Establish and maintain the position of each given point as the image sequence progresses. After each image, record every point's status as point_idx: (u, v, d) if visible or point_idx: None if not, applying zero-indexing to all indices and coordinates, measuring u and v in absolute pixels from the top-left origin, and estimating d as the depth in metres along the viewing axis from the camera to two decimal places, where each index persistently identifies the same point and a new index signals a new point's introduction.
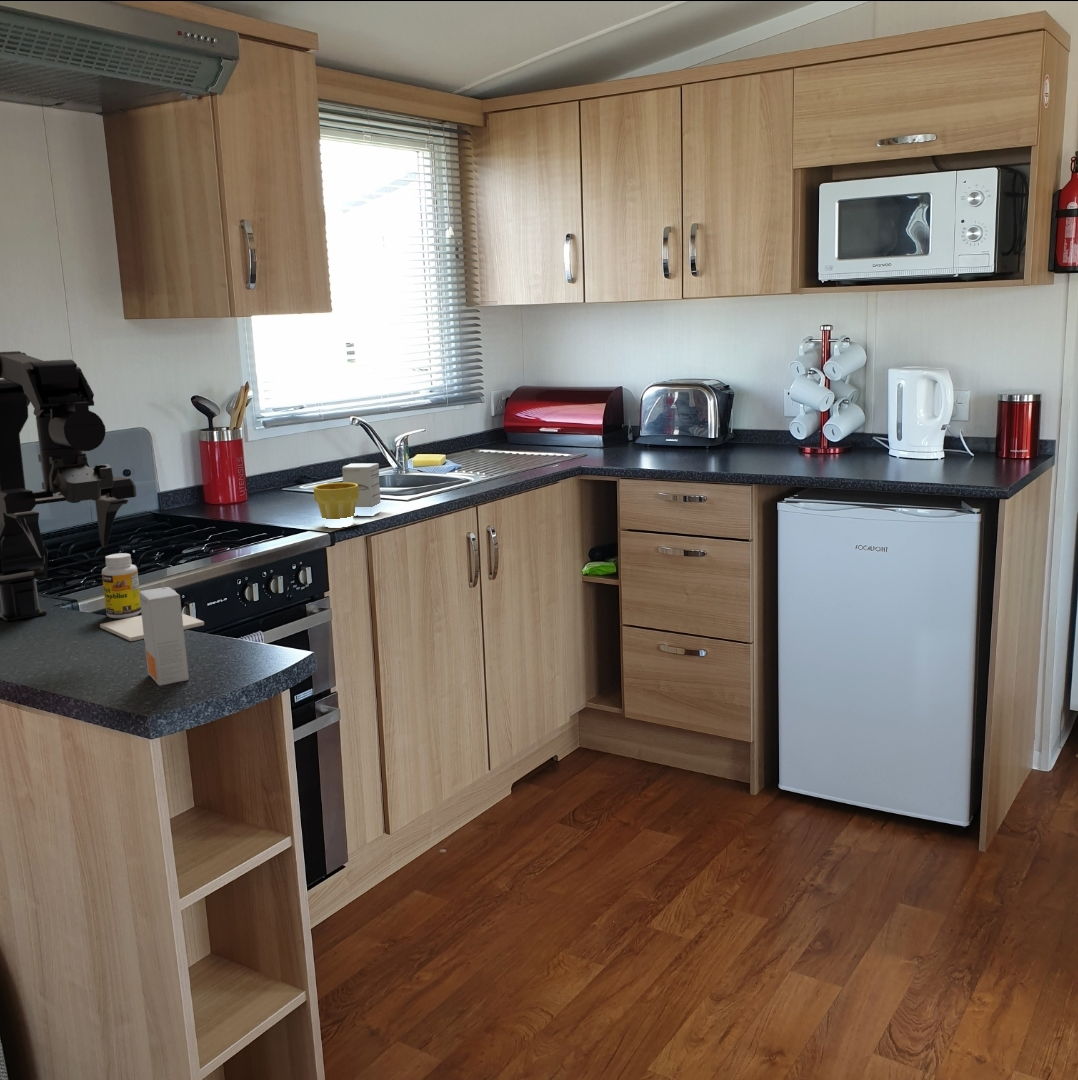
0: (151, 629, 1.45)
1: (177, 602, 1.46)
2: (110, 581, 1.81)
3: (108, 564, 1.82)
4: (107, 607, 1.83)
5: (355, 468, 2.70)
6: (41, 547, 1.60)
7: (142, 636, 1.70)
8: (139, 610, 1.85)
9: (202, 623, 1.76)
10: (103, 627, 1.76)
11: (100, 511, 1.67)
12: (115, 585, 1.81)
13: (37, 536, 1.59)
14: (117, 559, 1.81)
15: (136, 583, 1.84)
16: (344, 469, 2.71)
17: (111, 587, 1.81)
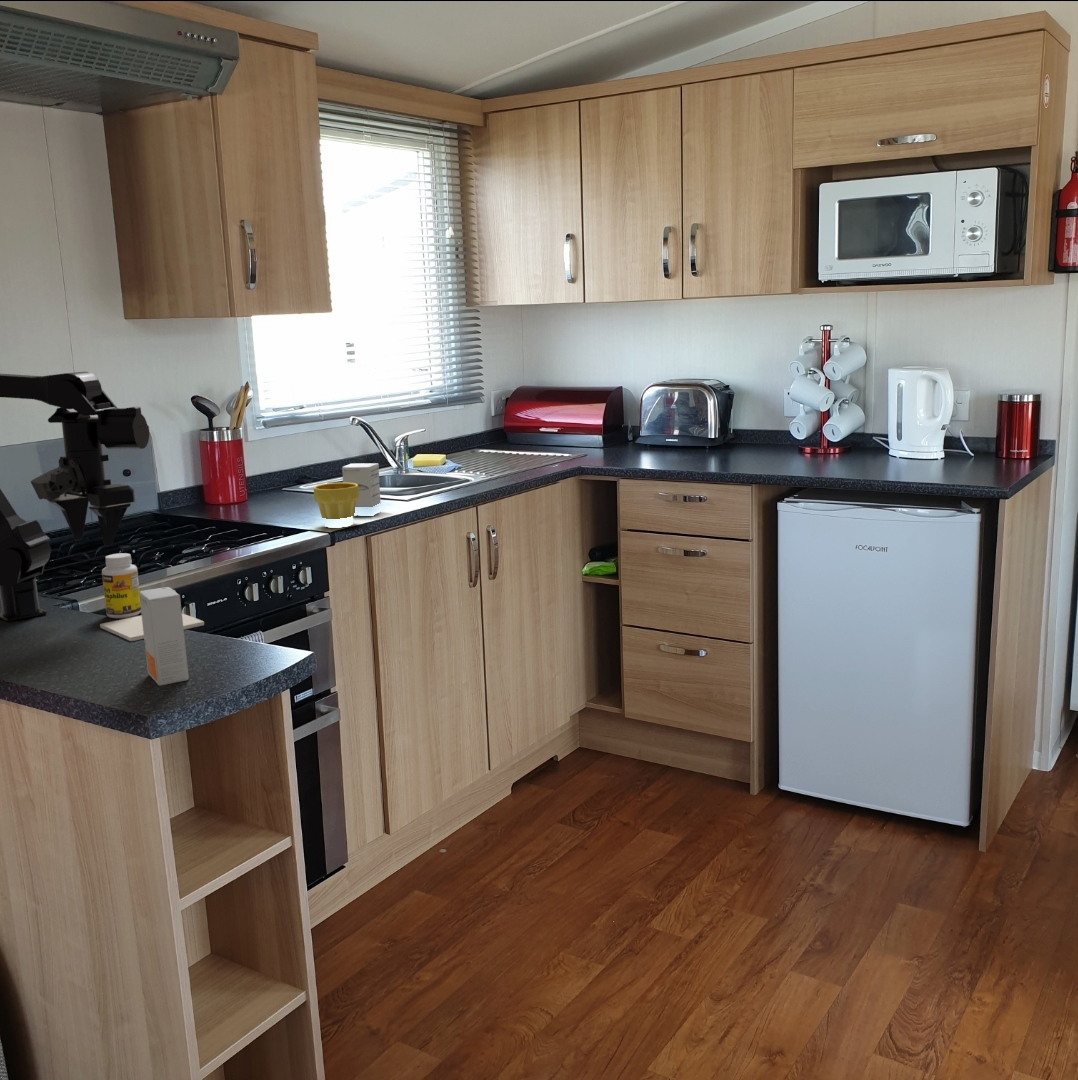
0: (151, 629, 1.45)
1: (177, 602, 1.46)
2: (110, 581, 1.81)
3: (108, 564, 1.82)
4: (107, 607, 1.83)
5: (355, 468, 2.70)
6: (72, 531, 1.86)
7: (142, 636, 1.70)
8: (139, 610, 1.85)
9: (202, 623, 1.76)
10: (103, 627, 1.76)
11: None
12: (115, 585, 1.81)
13: (68, 521, 1.85)
14: (117, 559, 1.81)
15: (136, 583, 1.84)
16: (344, 469, 2.71)
17: (111, 587, 1.81)
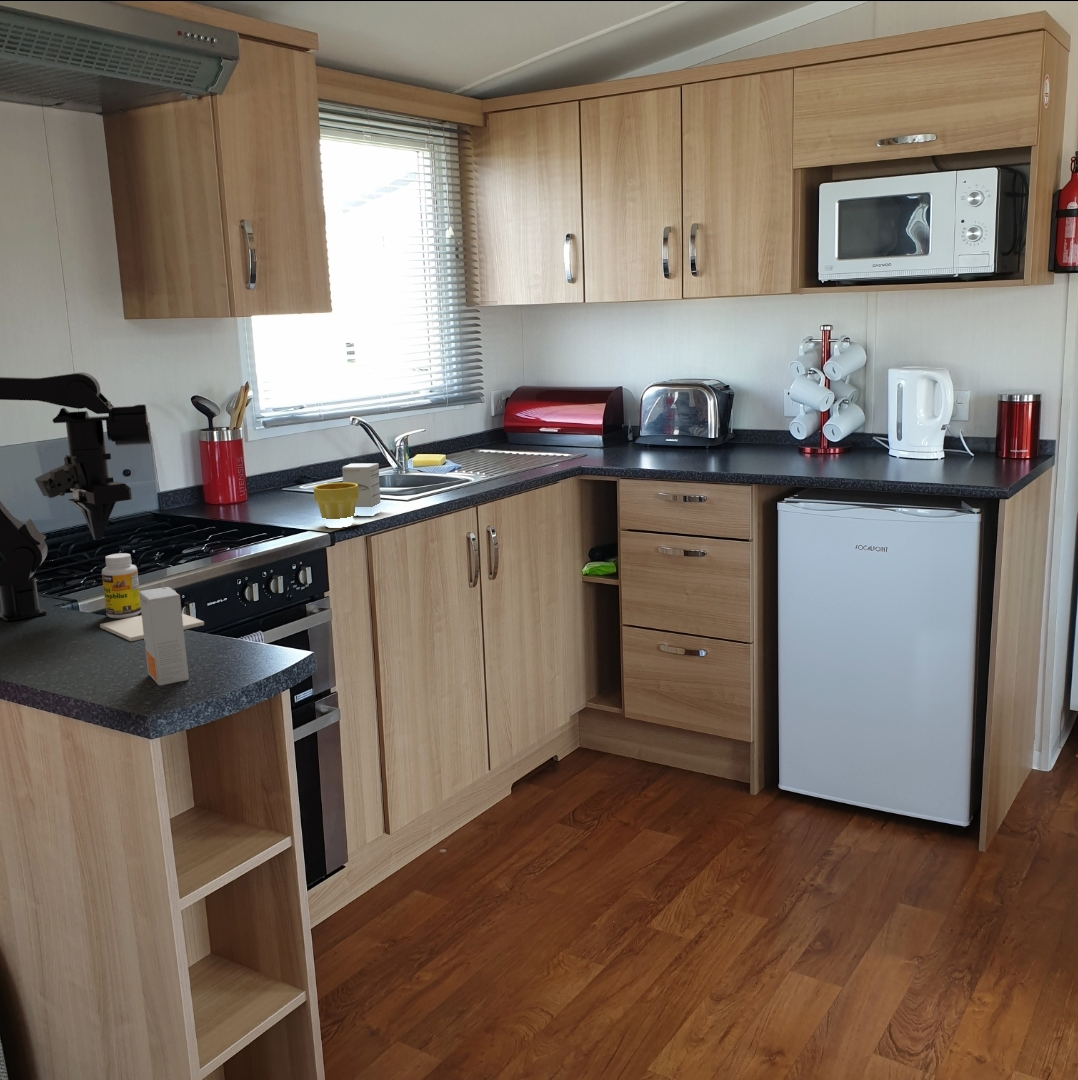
0: (151, 629, 1.45)
1: (177, 602, 1.46)
2: (110, 581, 1.81)
3: (108, 564, 1.82)
4: (107, 607, 1.83)
5: (355, 468, 2.70)
6: (91, 530, 1.88)
7: (142, 636, 1.70)
8: (139, 610, 1.85)
9: (202, 623, 1.76)
10: (103, 627, 1.76)
11: None
12: (115, 585, 1.81)
13: (87, 520, 1.88)
14: (117, 559, 1.81)
15: (136, 583, 1.84)
16: (344, 469, 2.71)
17: (111, 587, 1.81)
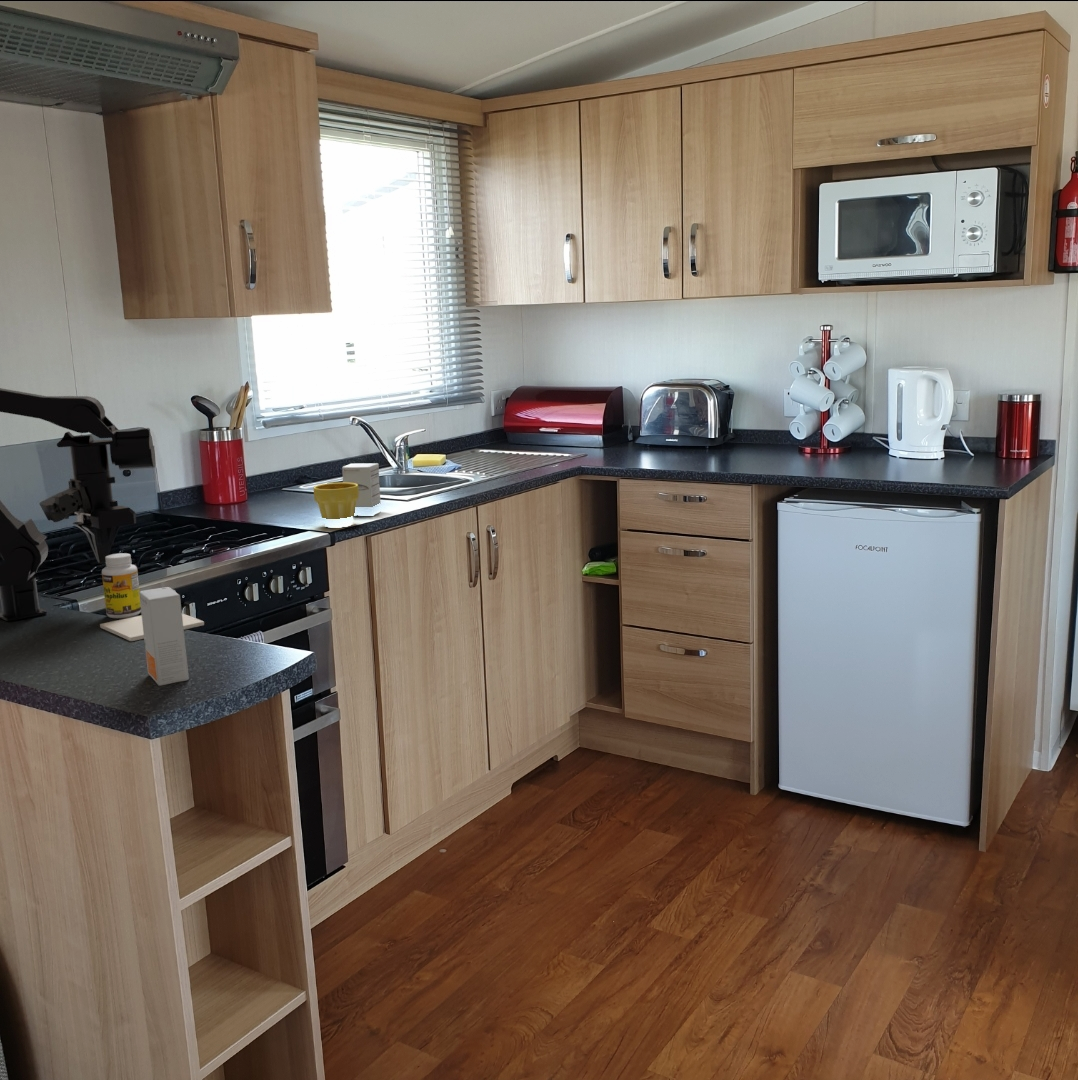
0: (151, 629, 1.45)
1: (177, 602, 1.46)
2: (110, 581, 1.81)
3: (108, 564, 1.82)
4: (107, 607, 1.83)
5: (355, 468, 2.70)
6: (95, 554, 1.88)
7: (142, 636, 1.70)
8: (139, 610, 1.85)
9: (202, 623, 1.76)
10: (103, 627, 1.76)
11: None
12: (115, 585, 1.81)
13: (91, 544, 1.88)
14: (117, 559, 1.81)
15: (136, 583, 1.84)
16: (344, 469, 2.71)
17: (111, 587, 1.81)
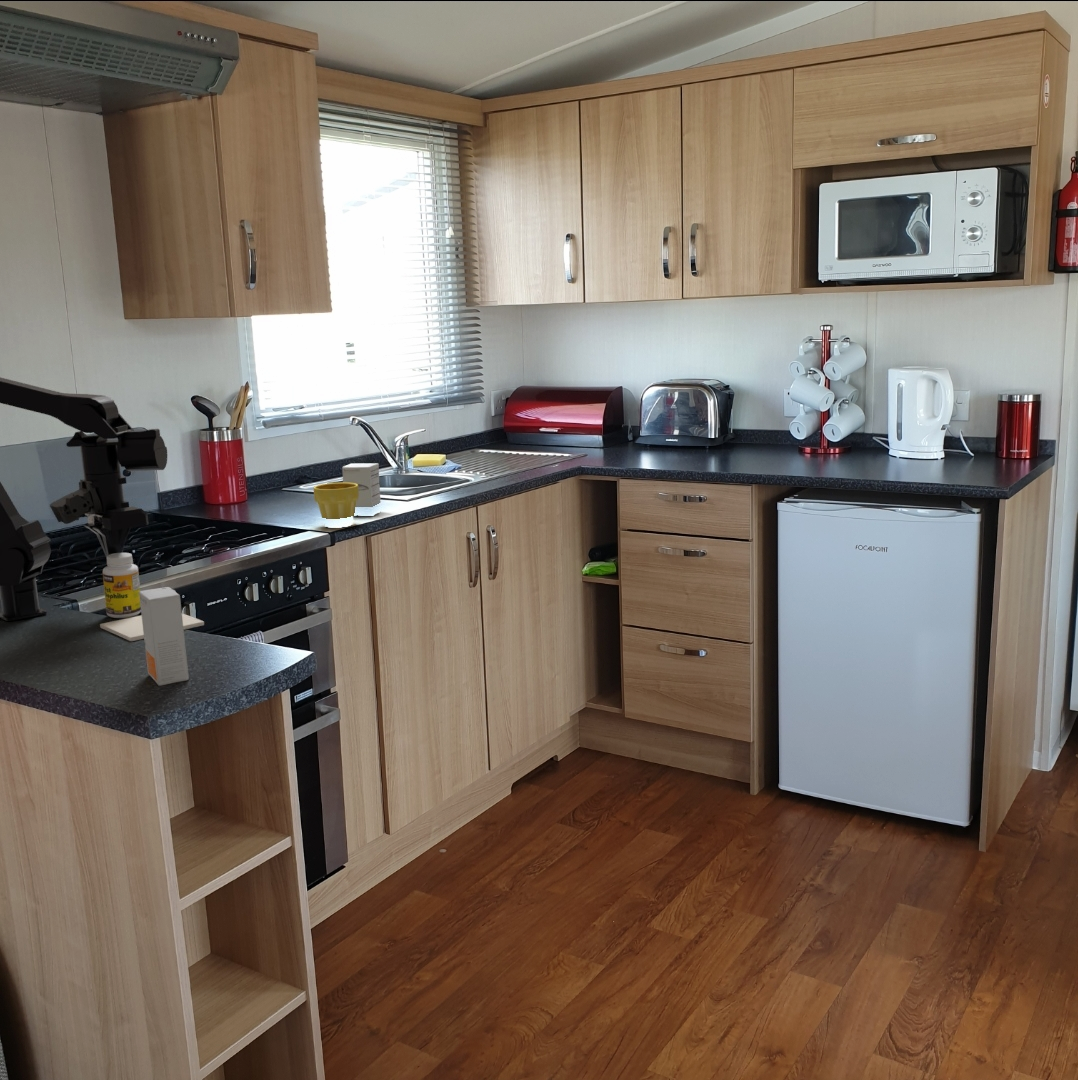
0: (151, 629, 1.45)
1: (177, 602, 1.46)
2: (111, 581, 1.81)
3: (109, 564, 1.81)
4: (107, 606, 1.83)
5: (355, 468, 2.70)
6: (106, 556, 1.85)
7: (142, 636, 1.70)
8: (139, 610, 1.85)
9: (202, 623, 1.76)
10: (103, 627, 1.76)
11: None
12: (115, 586, 1.81)
13: (102, 546, 1.85)
14: (118, 560, 1.81)
15: (137, 583, 1.83)
16: (344, 469, 2.71)
17: (111, 587, 1.81)
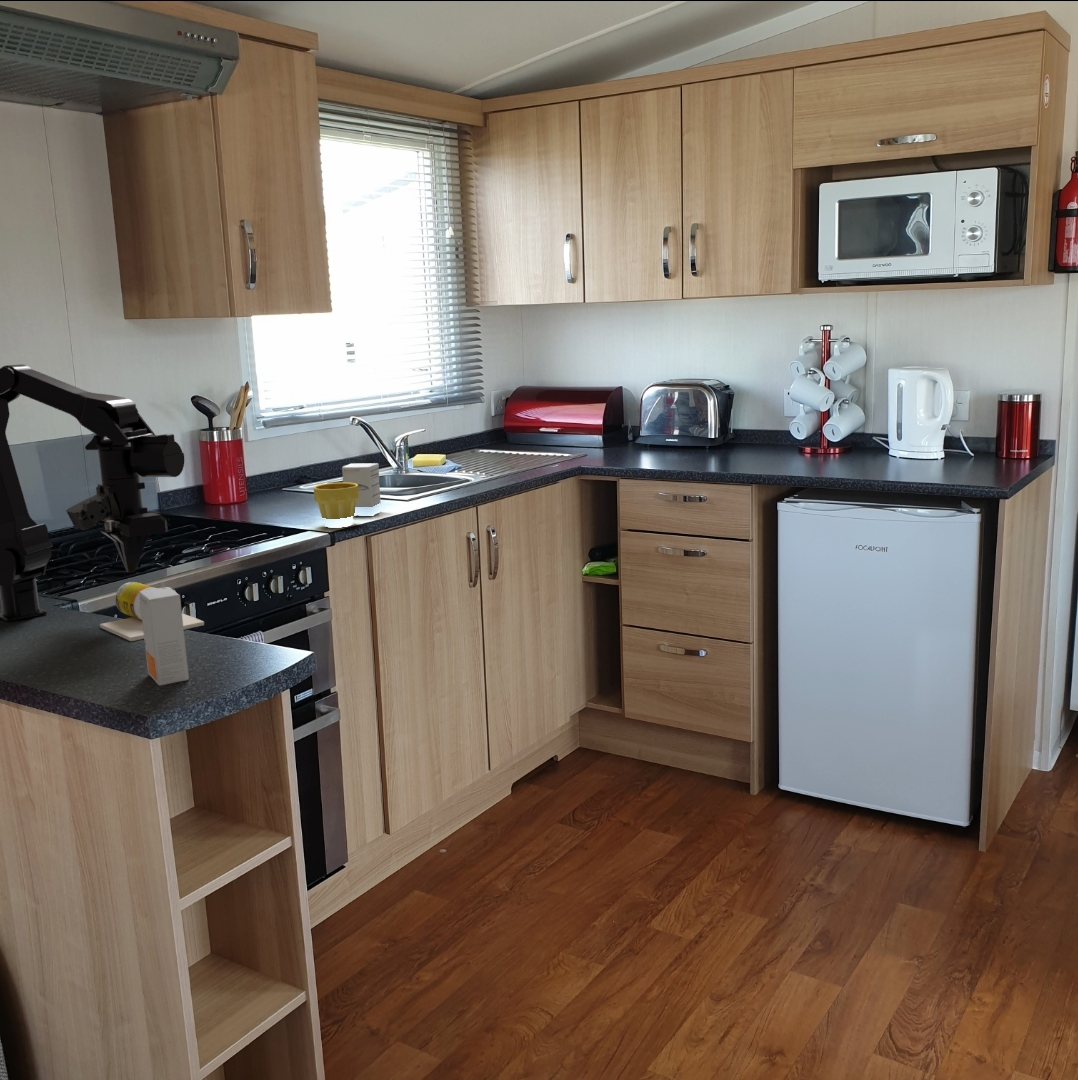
0: (151, 629, 1.45)
1: (177, 602, 1.46)
2: (134, 615, 1.77)
3: None
4: (118, 602, 1.79)
5: (355, 468, 2.70)
6: (124, 563, 1.79)
7: (142, 636, 1.70)
8: None
9: (202, 623, 1.76)
10: (103, 627, 1.76)
11: None
12: (134, 616, 1.78)
13: (120, 552, 1.79)
14: None
15: None
16: (344, 469, 2.71)
17: (130, 613, 1.77)
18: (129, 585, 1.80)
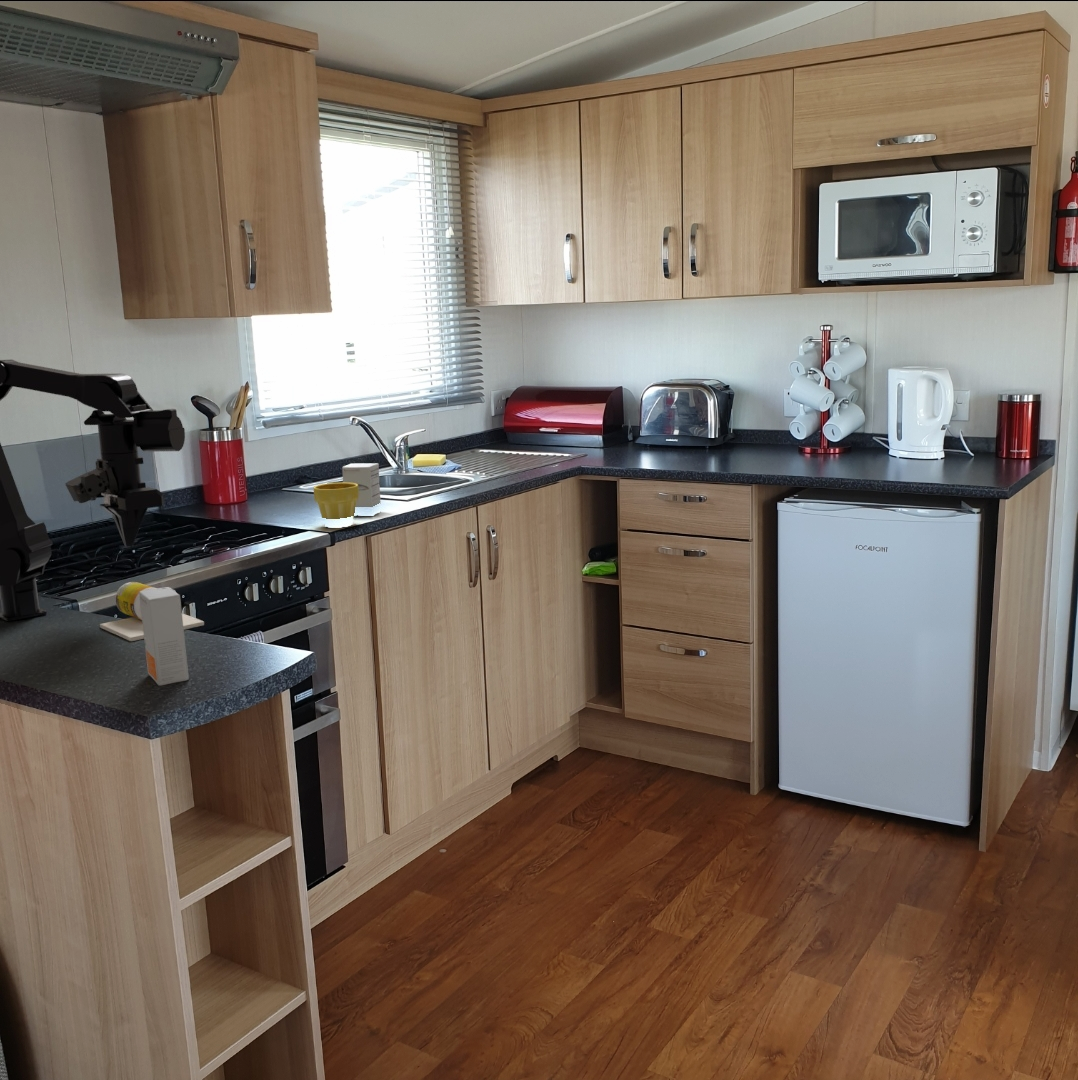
0: (151, 629, 1.45)
1: (177, 602, 1.46)
2: (134, 614, 1.77)
3: None
4: (118, 602, 1.79)
5: (355, 468, 2.70)
6: (122, 537, 1.82)
7: (142, 636, 1.70)
8: None
9: (202, 623, 1.76)
10: (103, 627, 1.76)
11: None
12: (134, 616, 1.78)
13: (118, 526, 1.82)
14: None
15: None
16: (344, 469, 2.71)
17: (131, 613, 1.77)
18: (129, 585, 1.80)
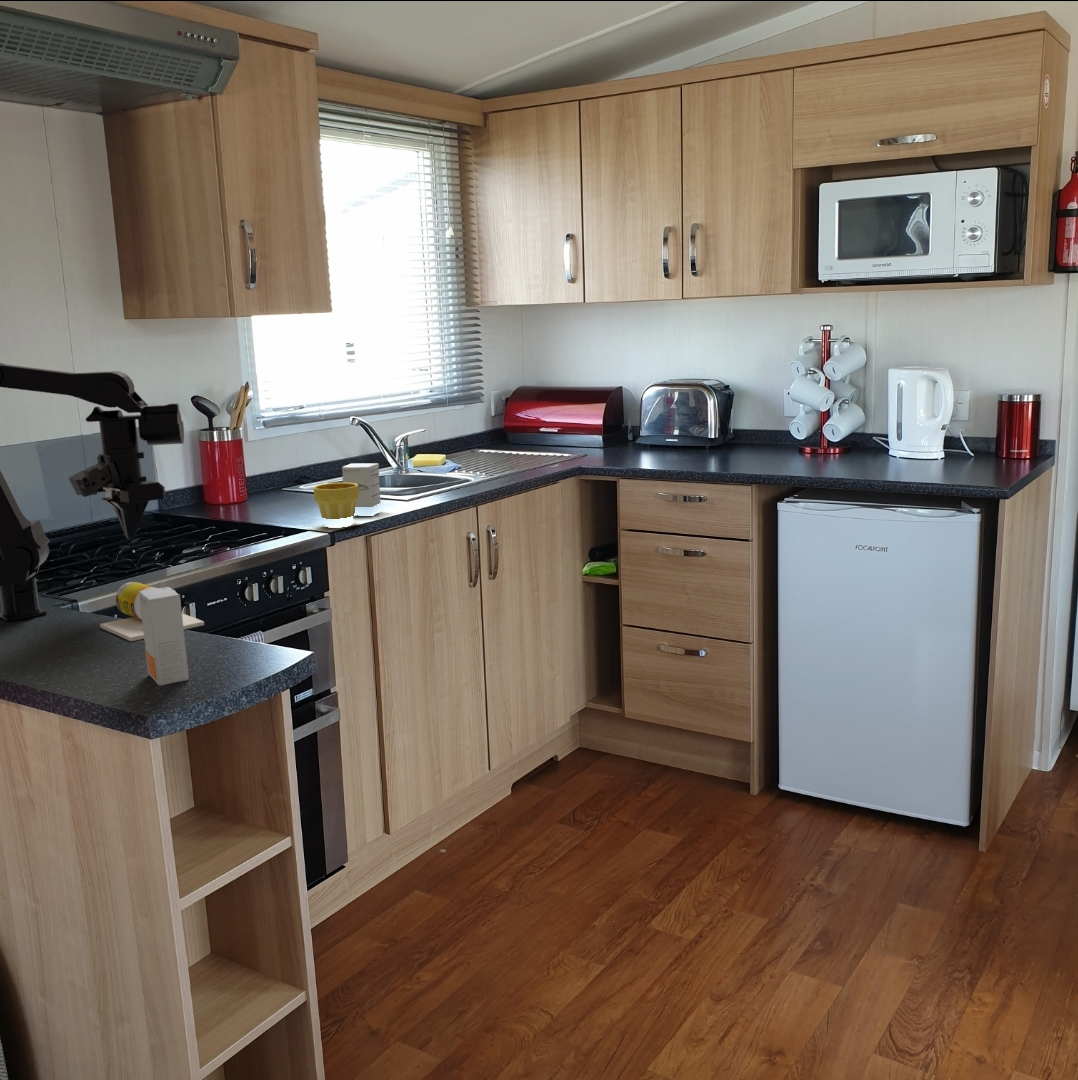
0: (151, 629, 1.45)
1: (177, 602, 1.46)
2: (134, 614, 1.77)
3: None
4: (119, 602, 1.79)
5: (355, 468, 2.70)
6: (124, 529, 1.88)
7: (142, 636, 1.70)
8: None
9: (202, 623, 1.76)
10: (103, 627, 1.76)
11: None
12: (134, 616, 1.78)
13: (120, 519, 1.87)
14: None
15: None
16: (344, 469, 2.71)
17: (131, 613, 1.77)
18: (130, 585, 1.80)
